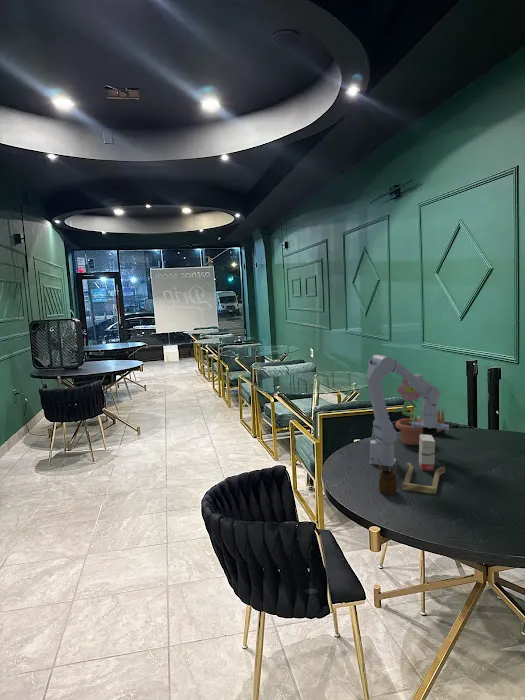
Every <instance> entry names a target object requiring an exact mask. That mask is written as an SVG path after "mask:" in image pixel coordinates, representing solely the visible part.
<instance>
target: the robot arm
mask: <svg viewBox="0 0 525 700" xmlns="http://www.w3.org/2000/svg"><path fill="white" fill-rule="evenodd" d="M367 364H368V368H367V372H366V376H365V377H366V378H365V379H366V384H367V388H368V389H367V390H368V393H369V398H370V403H371V407H372V412H373V416H374V420H372V425H373V426H372V435H373V436H374V437H375V439H371V440H370V443H369V462H368V463H369V465H376V466H379V462H378V457H379V461H380V464H381V466H383V467H384V466H385V467H390V466H391V467H392V468H394V466H395V465H396V462H397V459H396V458H395V441H396V440H397V439H398V432H397V430H396V429H395V428H394V424H393V423H392V421H391V420H390V418H389V413H388V409H387V408H388V407H387V404H386V399H385V394H384V391H383V386H382V380H383V379H384V378H385V377H386V376H388V375H389V374H390V373H391V372H393V373H397V374H398V375H400V376H401V377H402V378H403V379H406V380H408V384H409V386H411V387H412V388H413V389H415V390H416V391H417V392H419V393H420V395H421V396H422V409H423V422H412V423H411V428H414V427H417V428H423V433H422V434H425V435H432V437H433V439H434V438H435V435H436V434H435V433H436V431H437V429H440V430H441V429H442V430H445V431H449V430H450V424H445V423H444V424H440V423H441V422H440V423H437V412H438V402H439V398H440V397H441V394H442V393H441V392H440V390H439V387H437V386H436V385H432V382H431V381H429V380H428V381H427V380H426V379H425V378H424V376H423V375H422V374H419V373H412V371H410V370H409V369H408V368H407V367H405V366H404V365H402V364H401V363H400V362H399V360H396V359H394V358H393V357H391V356H386V355H382V354H378V353H376V354H373V355H372V356H371V358H369V360H368V363H367ZM394 462H395V463H394ZM391 467H390V468H391Z"/></svg>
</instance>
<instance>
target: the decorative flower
mask: <svg viewBox="0 0 525 700" xmlns="http://www.w3.org/2000/svg"><path fill="white" fill-rule="evenodd" d="M396 390H397V393H398V394H399V395H401V398H402V399H403V400H405V401H404V403H403V405H402V407H401V408H400V407H398V408H396V409H394V410H393V413H398V412H401V414H403V415H404V416H406V417H411V418H400V419H399V420H397V421H396V422H395V425H394V426H395V428H396V429H398V430H399V431H400V437H401V438H400V440H401V443H402V444H404V445H407V446H419V438H420V435H421V434H423V433H422V431H423V428H417V427H414V428H411V423H412V422H423V420H421V419H418V417H417V415H418V413H419V410H417V411H415V412H414V413H413V412H408V411H406V410H407V408H408V406H409V404H410V405H411V406H412V407H413V408H417V406H416V403H415V402H416V401H417V400H418V399H419V398H423V396H421V395H420V393H419V392H417V391H416V390H415V389H413V388H412V387H411V386H409V384H408V380H406V379H405V378H403V379H402V380H401V384H400V386H397V388H396Z"/></svg>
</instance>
